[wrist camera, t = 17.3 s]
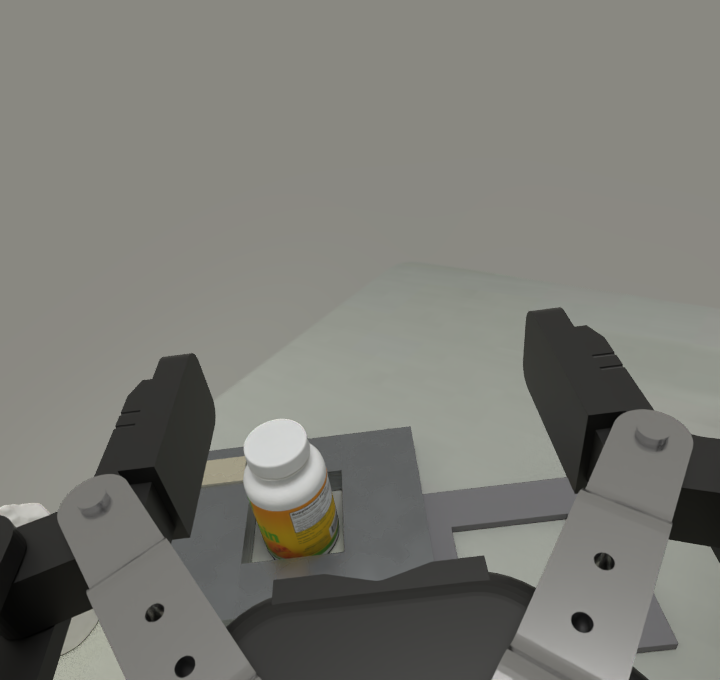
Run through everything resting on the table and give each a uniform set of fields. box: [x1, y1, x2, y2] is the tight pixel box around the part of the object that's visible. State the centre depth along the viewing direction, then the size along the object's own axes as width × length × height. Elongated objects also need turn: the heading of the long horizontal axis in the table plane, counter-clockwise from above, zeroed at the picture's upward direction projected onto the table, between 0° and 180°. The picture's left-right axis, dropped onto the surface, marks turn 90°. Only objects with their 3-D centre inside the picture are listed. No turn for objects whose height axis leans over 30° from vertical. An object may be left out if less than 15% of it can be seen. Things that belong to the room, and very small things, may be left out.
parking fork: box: [422, 477, 678, 653], centre depth 36 cm, size 12×14×1 cm
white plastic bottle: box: [0, 503, 98, 656], centre depth 34 cm, size 6×12×6 cm
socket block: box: [171, 426, 434, 627], centre depth 40 cm, size 18×14×2 cm
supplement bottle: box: [243, 419, 339, 560], centre depth 37 cm, size 5×5×10 cm
